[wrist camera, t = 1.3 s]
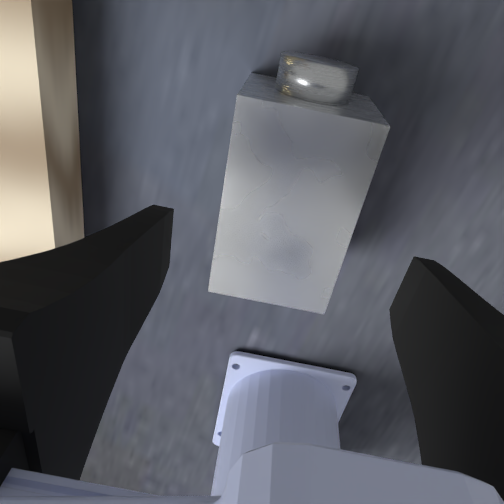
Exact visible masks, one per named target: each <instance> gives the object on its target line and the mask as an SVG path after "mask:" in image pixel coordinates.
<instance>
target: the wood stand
mask: <svg viewBox="0 0 504 504" xmlns="http://www.w3.org/2000/svg"><path fill="white" fill-rule="evenodd" d="M83 238H84V219H83V200H82V181H81V162H80V142H79V123H78V104H77V85H76V65H75V46H74V27H73V8H72V0H0V262H3V261H8V260H12V259H16V258H20V257H24V256H28V255H33V254H37V253H41V252H45V251H48V250H51V249H54V248H57V247H61V246H64V245H67V244H69V243H72V242H75V241H78V240H80V239H83Z"/></svg>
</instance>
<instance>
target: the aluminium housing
mask: <svg viewBox="0 0 504 504" xmlns="http://www.w3.org/2000/svg"><path fill="white" fill-rule="evenodd" d="M358 70H359V68H358V67H356V66H353V65H351V64H348V63H345V62H341V61H338V60H334V59H330V58H326V57H321V56H316V55H311V54H305V53H299V52H289V51H284V52H281V57H280V62H279V68H278V73H277V77H272V76H267V75H262V74H257V73H252V72H251V74H250V75H249V77H248V79H247V80H246V82H245V83H244V85H243V86H242V88H241V90H240V91H239V93H238V94H237V99H236V106H235V113H234V119H233V126H232V133H231V140H230V146H229V153H228V160H227V167H226V173H225V180H224V187H223V194H222V200H221V207H220V214H219V221H218V227H217V234H216V241H215V248H214V254H213V261H212V268H211V275H210V281H209V288H208V291H209V292H214V293H219V294H224V295H229V296H234V297H239V298H244V299H249V300H255V301H260V302H265V303H270V304H275V305H280V306H285V307H290V308H295V309H300V310H305V311H310V312H315V313H320V314H325V311H326V308H327V305H328V302H329V299H330V297H331V294H332V291H333V288H334V285H335V282H336V280H337V277H338V274H339V271H340V268H341V265H342V263H343V260H344V257H345V254H346V251H347V248H348V245H349V243H350V240H351V237H352V234H353V231H354V228H355V226H356V223H357V220H358V217H359V214H360V211H361V209H362V206H363V203H364V200H365V197H366V194H367V192H368V189H369V186H370V183H371V180H372V177H373V175H374V172H375V169H376V166H377V163H378V160H379V158H380V155H381V152H382V149H383V146H384V143H385V141H386V138H387V135H388V132H389V129H390V125H389V123H388V122H387V121H386V119H385V118H384V117H383V115H382V114H381V113H380V111H379V110H378V109H377V107H376V106H375V105H374V103H373V102H372V101H371V99H370V98H369V97H368V96H365V95H360V94H355V93H352V91H353V88H354V84H355V81H356V77H357V74H358Z"/></svg>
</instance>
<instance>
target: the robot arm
mask: <svg viewBox="0 0 504 504" xmlns="http://www.w3.org/2000/svg"><path fill="white" fill-rule="evenodd" d="M173 212H174V209H172V208H167V207H162V206H157V205H152V206H149V207H147V208H145V209H143V210H141V211H139V212H137V213H136V214H134V215H132V216H130V217H128V218H126V219H124V220H122V221H120V222H118V223H116V224H114V225H112V226H110V227H108V228H106V229H103V230H101V231H99V232H96V233H94V234H92V235H90V236H87V237H85V238H83V239H80V240H78V241H75V242H72V243H69V244H67V245H64V246H61V247H57V248H54V249H51V250H48V251H45V252H41V253H37V254H33V255H28V256H24V257H20V258H16V259H12V260H8V261H3V262H0V504H504V315H503V314H502V313H500V312H499V311H498V310H496V309H495V308H494V307H493V306H491V305H490V304H489V303H488V302H486V301H485V300H484V299H483V298H481V297H480V296H479V295H478V294H477V293H475V292H474V291H473V290H472V289H471V288H469V287H468V286H467V285H466V284H465V283H463V282H462V281H461V280H460V279H459V278H457V277H456V276H455V275H454V274H452V273H451V272H450V271H449V270H447V269H446V268H445V267H443V266H442V265H440V264H439V263H437V262H436V261H434V260H429V259H424V258H419V257H413V259H412V262H411V264H410V266H409V268H408V270H407V272H406V275H405V277H404V279H403V281H402V283H401V285H400V288H399V290H398V292H397V294H396V296H395V298H394V301H393V303H392V305H391V307H390V319H391V328H392V335H393V340H394V344H395V348H396V352H397V355H398V359H399V362H400V366H401V369H402V373H403V376H404V380H405V383H406V387H407V390H408V394H409V397H410V401H411V405H412V409H413V413H414V417H415V423H416V429H417V435H418V441H419V447H420V454H421V461H422V465H421V464H415V463H410V462H405V461H400V460H394V459H389V458H384V457H379V456H373V455H368V454H363V453H358V452H352V451H347V450H342V449H340V439H339V429H338V422H339V420H340V418H341V416H342V414H343V411H344V409H345V407H346V405H347V403H348V401H349V398H350V396H351V394H352V392H353V390H354V388H355V385H356V383H357V380H356V376H355V375H354V374H352V373H348V372H343V371H338V370H333V369H328V368H322V367H317V366H312V365H307V364H302V363H297V362H292V361H286V360H281V359H276V358H271V357H266V356H261V355H255V354H250V353H245V352H240V351H235V352H232V353H231V354H230V358H229V363H228V368H227V372H226V377H225V382H224V387H223V392H222V397H221V402H220V407H219V412H218V416H217V421H216V426H215V431H214V436H213V443H214V444H215V445H217V446H219V451H218V457H217V462H216V468H215V474H214V480H213V486H212V491H211V496H159V495H154V494H149V493H144V492H138V491H133V490H128V489H122V488H117V487H112V486H106V485H101V484H96V483H90V482H85V481H80V477H81V474H82V471H83V468H84V465H85V462H86V459H87V456H88V454H89V451H90V448H91V445H92V443H93V440H94V437H95V434H96V431H97V429H98V426H99V423H100V421H101V418H102V415H103V413H104V410H105V407H106V405H107V402H108V400H109V397H110V394H111V392H112V389H113V387H114V384H115V382H116V379H117V377H118V374H119V372H120V369H121V367H122V364H123V362H124V360H125V357H126V355H127V353H128V351H129V349H130V347H131V345H132V343H133V342H134V340H135V338H136V336H137V334H138V332H139V330H140V329H141V327H142V325H143V323H144V321H145V319H146V317H147V316H148V314H149V312H150V310H151V308H152V306H153V304H154V302H155V300H156V299H157V297H158V295H159V293H160V290H161V287H162V285H163V282H164V279H165V277H166V274H167V271H168V268H169V263H170V250H171V237H172V225H173ZM235 364H238V365H235ZM344 385H347V386H344Z"/></svg>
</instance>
